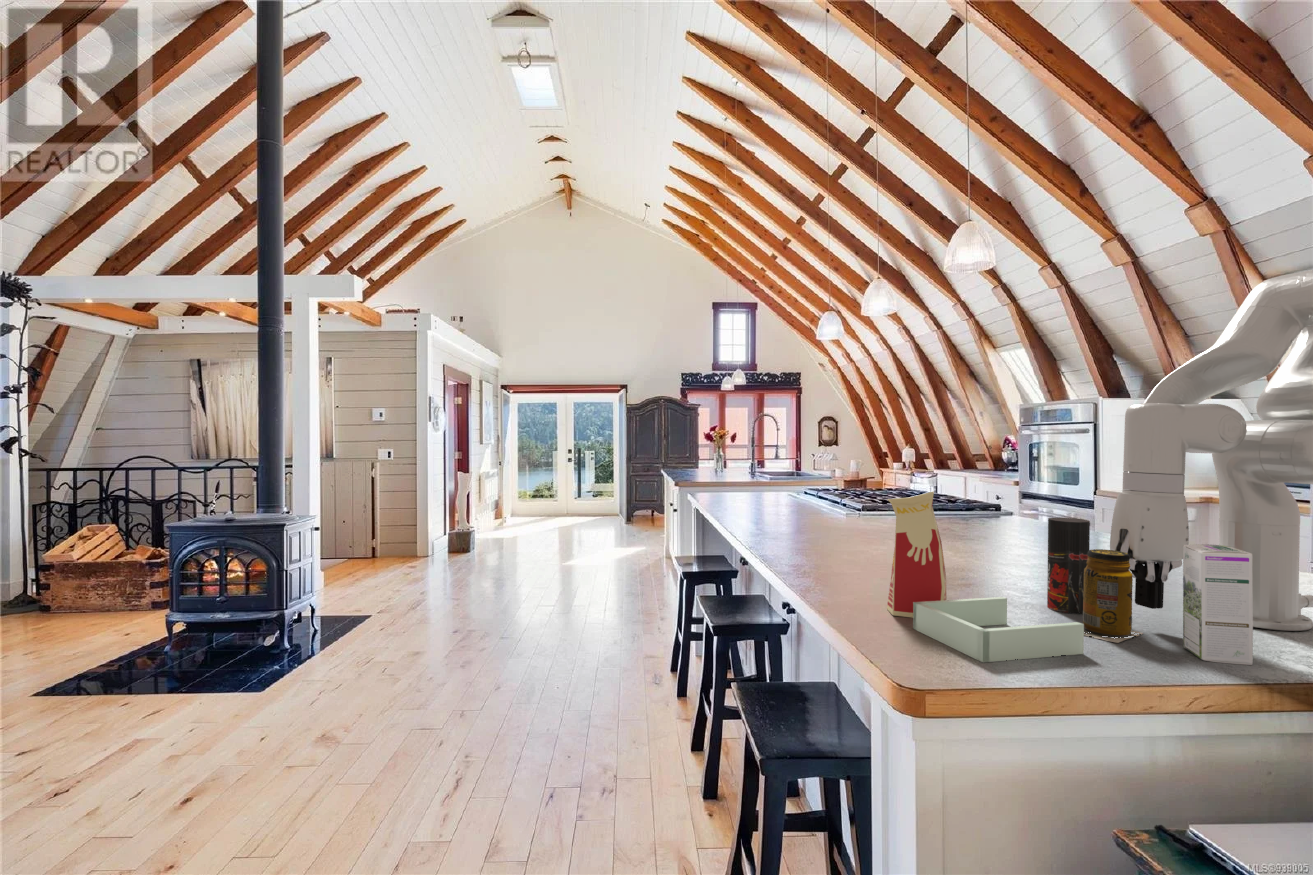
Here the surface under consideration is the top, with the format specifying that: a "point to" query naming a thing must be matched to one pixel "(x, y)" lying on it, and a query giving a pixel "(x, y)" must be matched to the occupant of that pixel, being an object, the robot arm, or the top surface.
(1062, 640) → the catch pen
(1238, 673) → the top surface
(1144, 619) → the top surface
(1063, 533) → the deodorant
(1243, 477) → the robot arm
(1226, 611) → the syrup box
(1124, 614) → the condiment
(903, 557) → the milk carton
